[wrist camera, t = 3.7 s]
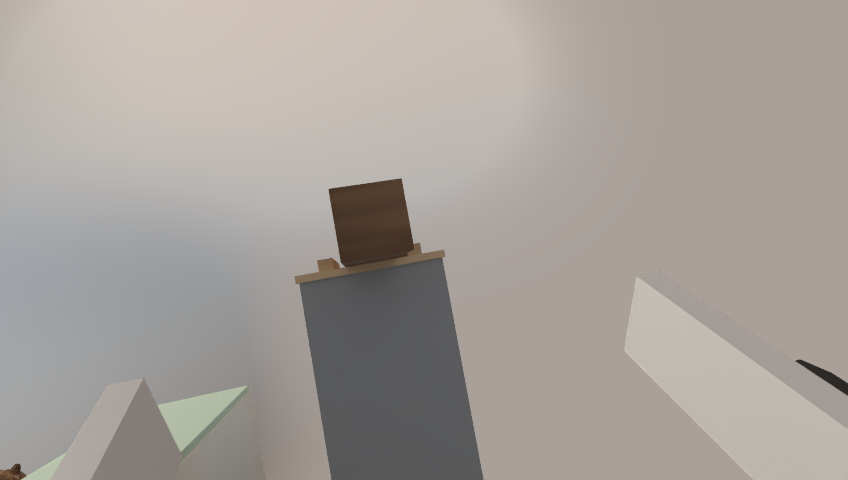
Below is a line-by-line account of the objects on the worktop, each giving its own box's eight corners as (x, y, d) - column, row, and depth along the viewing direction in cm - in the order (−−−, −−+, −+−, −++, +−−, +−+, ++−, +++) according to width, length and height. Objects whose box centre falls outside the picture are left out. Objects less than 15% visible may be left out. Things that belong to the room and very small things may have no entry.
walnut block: (349, 271, 46) (343, 239, 46) (382, 265, 46) (376, 233, 46) (340, 262, 20) (328, 189, 20) (414, 249, 21) (401, 178, 21)
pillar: (364, 583, 38) (311, 268, 40) (471, 549, 40) (417, 250, 42) (367, 724, 26) (292, 264, 28) (521, 667, 28) (441, 238, 30)
